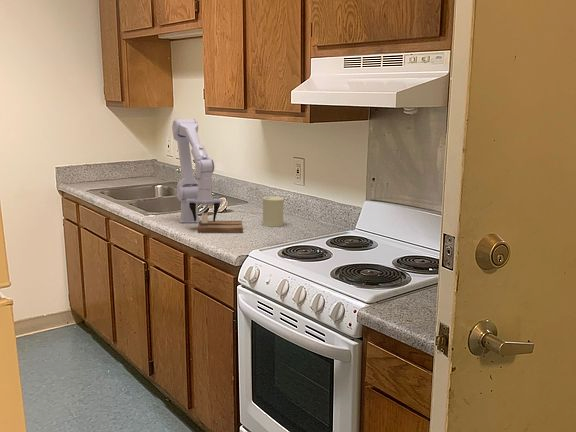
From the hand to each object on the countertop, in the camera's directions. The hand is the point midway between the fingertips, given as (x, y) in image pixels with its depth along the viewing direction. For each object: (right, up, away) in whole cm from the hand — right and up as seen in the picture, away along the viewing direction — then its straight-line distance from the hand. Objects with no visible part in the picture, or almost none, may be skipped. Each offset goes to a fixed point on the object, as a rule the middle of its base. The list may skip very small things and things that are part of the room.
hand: (204, 221), depth 245 cm
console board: (+6, -3, +1) cm, 7 cm away
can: (+28, -2, +13) cm, 31 cm away
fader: (0, -1, 0) cm, 1 cm away
